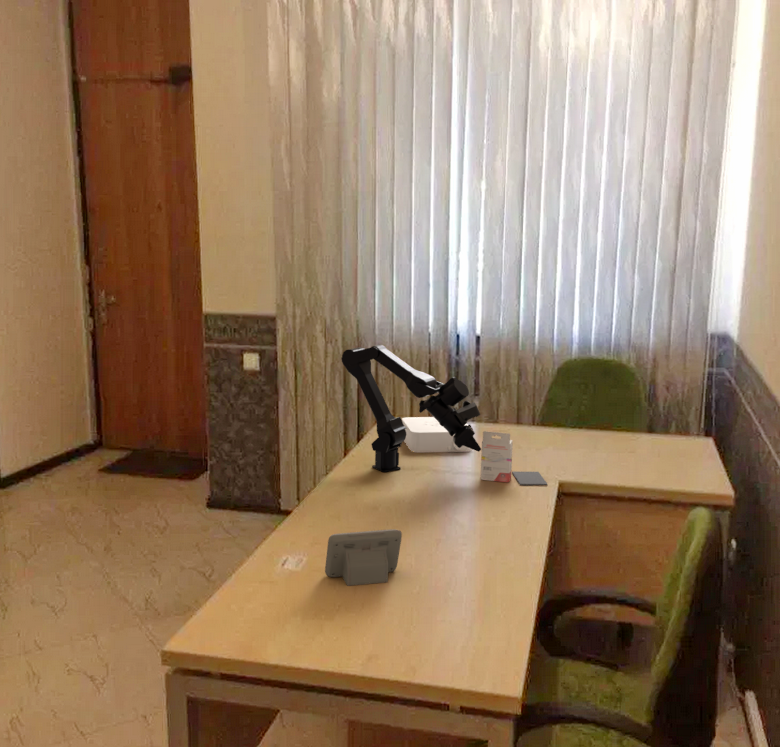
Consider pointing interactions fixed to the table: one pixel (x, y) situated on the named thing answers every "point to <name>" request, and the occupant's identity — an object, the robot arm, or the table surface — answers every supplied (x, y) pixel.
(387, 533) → the digital clock
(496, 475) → the ink cartridge box
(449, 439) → the projector
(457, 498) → the table surface
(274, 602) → the table surface
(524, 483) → the mat
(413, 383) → the robot arm
